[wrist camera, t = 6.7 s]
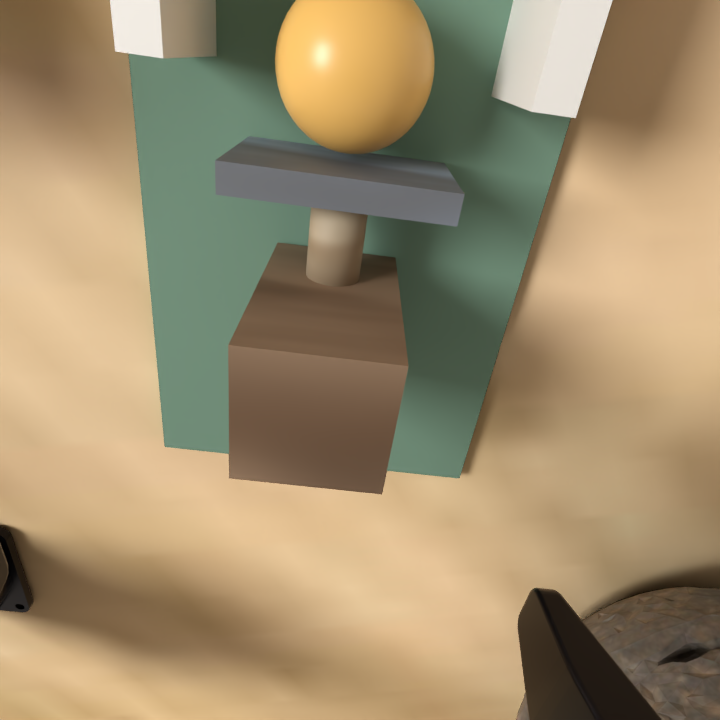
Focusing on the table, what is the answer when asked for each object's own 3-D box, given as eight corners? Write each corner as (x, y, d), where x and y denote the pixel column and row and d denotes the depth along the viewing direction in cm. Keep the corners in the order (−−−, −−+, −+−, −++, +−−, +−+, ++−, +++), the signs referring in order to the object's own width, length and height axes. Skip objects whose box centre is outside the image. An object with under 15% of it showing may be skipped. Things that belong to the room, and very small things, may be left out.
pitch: (457, 470, 23) (459, 478, 23) (168, 439, 23) (164, 446, 22) (650, -165, 12) (660, -173, 12) (108, -260, 12) (98, -272, 11)
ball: (421, 186, 13) (461, -9, 10) (261, 164, 13) (261, -40, 10) (414, 138, 16) (443, -21, 13) (285, 120, 16) (289, -46, 13)
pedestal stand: (404, 360, 20) (419, 498, 14) (246, 342, 19) (190, 474, 13) (444, 162, 16) (489, 232, 10) (249, 135, 16) (173, 190, 10)
